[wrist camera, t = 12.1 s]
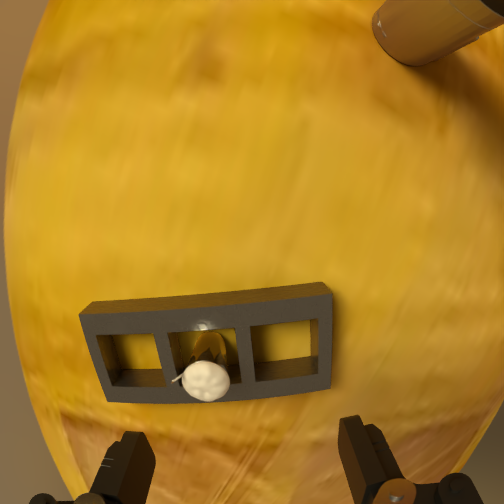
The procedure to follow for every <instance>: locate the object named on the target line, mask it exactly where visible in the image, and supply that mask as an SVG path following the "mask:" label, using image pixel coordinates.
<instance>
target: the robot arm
mask: <svg viewBox="0 0 504 504" xmlns="http://www.w3.org/2000/svg"><path fill="white" fill-rule="evenodd" d="M503 24H504V0H386V1H385V2H384V4H383V5H382V6H381V7H380V8H379V9H378V10H377V11H376V12H375V14H374V16H373V18H372V28H373V32H374V35H375V37H376V39H377V40H378V42H379V44H380V45H381V46H382V48H383V49H384V50H385V51H386V52H387V53H388V54H389V55H391V56H392V57H393V58H395V59H396V60H398V61H400V62H401V63H404V64H407V65H410V66H422V65H425V64H427V63H429V62H430V61H432V60H434V61H437V60H439V59H441V58H443V57H445V56H447V55H449V54H451V53H452V52H454V51H456V50H458V49H460V48H462V47H464V46H466V45H468V44H470V43H472V42H474V41H476V40H478V38H479V36H480V35H482V34H484V33H486V32H488V31H490V30H492V29H494V28H497V27H498V26H501V25H503ZM338 450H339V455H340V458H341V461H342V464H343V467H344V471H345V474H346V477H347V480H348V484H349V487H350V490H351V493H352V497H353V500H354V503H355V504H484V503H483V502H482V500H481V498H480V496H479V494H478V492H477V490H476V488H475V486H474V484H473V482H472V480H471V479H470V478H469V477H468V476H467V475H465V474H463V473H452V474H449V475H447V476H445V477H444V478H443V479H442V480H441V481H440V483H431V484H415V483H412V482H411V481H409V480H407V479H405V478H404V476H403V475H402V473H401V471H400V469H399V467H398V464H397V462H396V460H395V458H394V456H393V454H392V452H391V450H390V449H389V446H388V444H387V442H386V439H385V437H384V435H383V433H382V431H381V430H380V429H379V428H377V427H376V426H375V425H373V424H369V425H365V426H364V425H363V423H362V420H361V418H360V416H359V415H354V416H350V417H345V418H341V419H340V422H339V435H338ZM155 465H156V460H155V455H154V452H153V450H152V448H151V446H150V444H149V442H148V440H147V438H146V436H145V434H144V433H143V432H134V431H126V432H125V433H124V434H123V437H122V439H121V441H120V442H118V441H115V442H114V443H113V444H112V445H111V446H110V447H109V448H108V450H107V452H106V454H105V456H104V459H103V461H102V463H101V466H100V468H99V470H98V473H97V475H96V477H95V480H94V482H93V484H92V487H91V489H90V491H89V493H84V494H82V495H80V496H78V497H77V498H76V500H75V501H56V500H55V499H54V498H53V497H52V496H51V495H49V494H44V493H41V494H37V495H35V496H34V497H33V498H32V499H31V500H30V503H29V504H145V503H146V499H147V496H148V492H149V488H150V484H151V480H152V477H153V473H154V469H155Z"/></svg>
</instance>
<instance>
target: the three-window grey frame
mask: <svg viewBox="0 0 504 504" xmlns="http://www.w3.org/2000/svg"><path fill="white" fill-rule="evenodd" d="M79 318H80V322H81V325H82V329H83V332H84V336H85V339H86V342H87V345H88V349H89V352H90V355H91V358H92V361H93V364H94V367H95V370H96V372H97V375H98V378H99V381H100V383H101V386H102V389H103V391H104V394H105V396H106V399H107V401H108V402H121V403H153V404H176V403H209V402H226V401H240V400H251V399H261V398H270V397H279V396H287V395H294V394H301V393H307V392H314V391H320V390H326V389H330V386H331V360H332V293H331V292H330V290H329V289H328V288H327V287H326V286H325V285H324V283H323V282H316V283H307V284H298V285H289V286H280V287H271V288H261V289H251V290H241V291H231V292H220V293H209V294H197V295H185V296H172V297H159V298H145V299H130V300H114V301H96V302H92V303H91V304H89V305H88V306H87V307H86V308H85V309H84V310H83V311H82V312H80V313H79ZM308 319H310V334H311V356H309V357H302V358H295V359H287V360H279V361H270V362H261V363H254V361H253V352H252V342H251V333H250V326H257V325H267V324H276V323H284V322H293V321H301V320H308ZM225 328H235V333H236V341H237V349H238V357H239V365H229V366H228V373H229V379H230V385H229V389H228V391H227V392H226V394H225V395H224V396H222V397H221V398H218V399H216V400H214V401H202V400H199V399H197V398H195V397H193V396H191V395H190V394H189V393H188V392H187V391H186V390H185V388H184V387H183V384H182V377H180V378H179V379H178V380H176V381H175V382H173V383H172V384H171V382H172V380H174V379H175V378H176V377H178V376H179V375H181V374H182V373H184V371H185V368H184V364H183V359H182V354H181V350H180V345H179V340H178V335H177V332H185V331H200V330H213V329H225ZM146 333H153V334H154V338H155V342H156V346H157V351H158V355H159V359H160V363H161V366H162V369H122V368H121V365H120V362H119V359H118V355H117V352H116V349H115V345H114V342H113V338H112V335H114V334H146Z"/></svg>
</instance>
